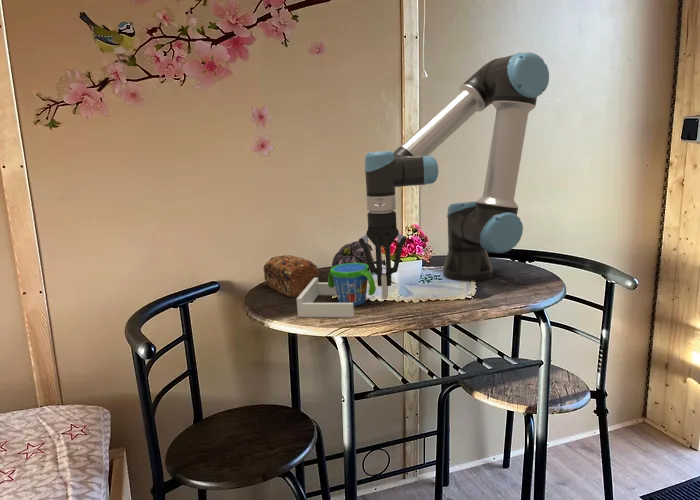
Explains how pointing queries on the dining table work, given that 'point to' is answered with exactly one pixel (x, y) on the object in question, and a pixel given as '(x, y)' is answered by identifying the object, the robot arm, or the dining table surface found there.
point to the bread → (289, 274)
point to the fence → (321, 309)
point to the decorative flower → (350, 254)
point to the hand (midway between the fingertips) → (385, 297)
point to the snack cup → (351, 282)
